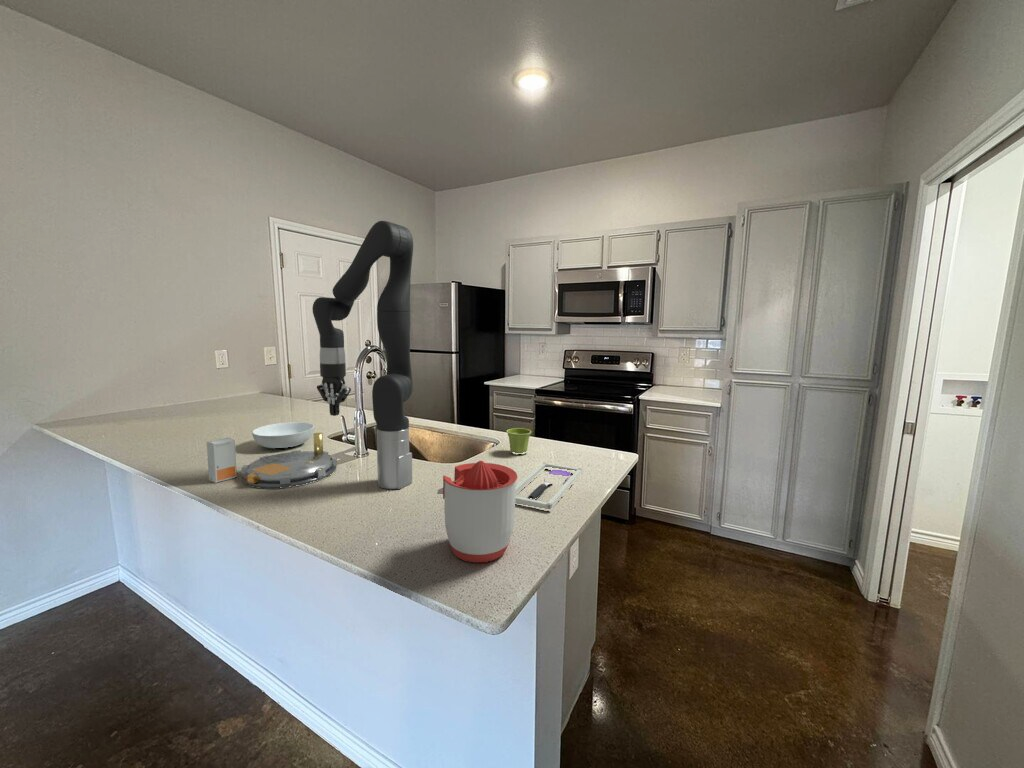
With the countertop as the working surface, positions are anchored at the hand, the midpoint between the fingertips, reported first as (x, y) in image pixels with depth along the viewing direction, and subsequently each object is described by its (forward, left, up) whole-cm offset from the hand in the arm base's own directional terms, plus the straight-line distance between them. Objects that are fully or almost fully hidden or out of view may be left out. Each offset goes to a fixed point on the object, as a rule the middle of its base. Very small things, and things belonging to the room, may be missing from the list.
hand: (334, 415), depth 135 cm
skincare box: (+22, +22, -18) cm, 36 cm away
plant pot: (-46, -45, -18) cm, 67 cm away
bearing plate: (+9, +9, -18) cm, 22 cm away
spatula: (-67, -17, -19) cm, 72 cm away
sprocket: (+9, +9, -17) cm, 21 cm away
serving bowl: (+37, -10, -18) cm, 42 cm away
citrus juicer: (-65, +22, -18) cm, 71 cm away
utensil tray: (-67, -18, -18) cm, 72 cm away
